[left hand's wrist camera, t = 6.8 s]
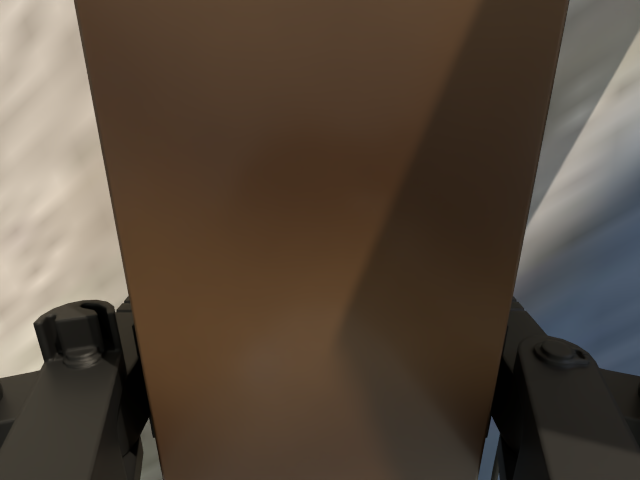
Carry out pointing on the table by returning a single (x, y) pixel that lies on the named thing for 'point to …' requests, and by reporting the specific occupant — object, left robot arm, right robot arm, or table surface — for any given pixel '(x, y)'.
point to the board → (321, 222)
